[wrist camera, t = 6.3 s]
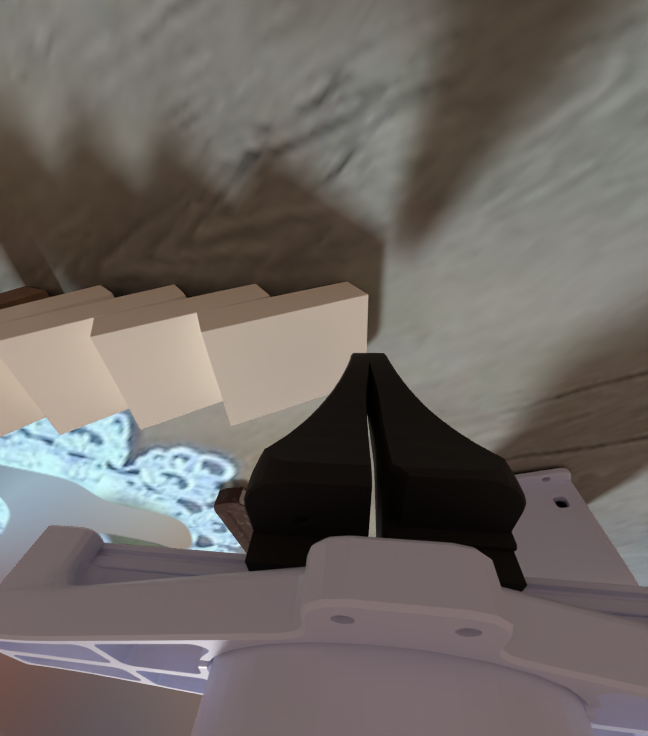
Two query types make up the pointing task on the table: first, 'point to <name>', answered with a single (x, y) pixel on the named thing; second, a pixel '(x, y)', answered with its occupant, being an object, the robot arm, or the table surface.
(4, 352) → the domino
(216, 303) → the domino
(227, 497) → the ice cream bar
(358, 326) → the domino
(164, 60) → the table surface
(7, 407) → the domino
